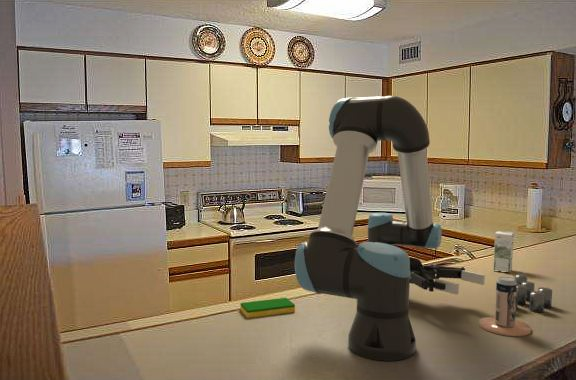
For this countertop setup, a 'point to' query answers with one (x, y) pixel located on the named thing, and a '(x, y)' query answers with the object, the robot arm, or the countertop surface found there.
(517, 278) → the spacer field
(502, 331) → the peach disc
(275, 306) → the dish sponge
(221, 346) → the countertop surface
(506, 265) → the syrup box
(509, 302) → the beer can
